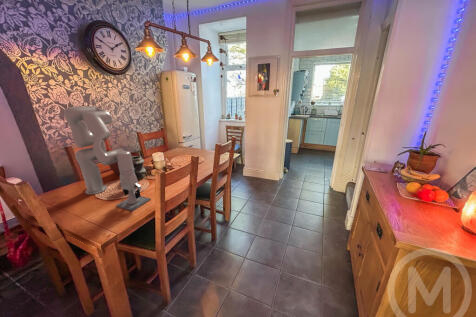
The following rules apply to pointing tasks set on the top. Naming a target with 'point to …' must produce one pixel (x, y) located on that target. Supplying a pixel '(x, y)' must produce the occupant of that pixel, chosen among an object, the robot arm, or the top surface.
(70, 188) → the top surface
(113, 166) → the plant pot
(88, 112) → the robot arm
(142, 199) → the slate coaster
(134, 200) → the flask
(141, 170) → the apothecary jar
